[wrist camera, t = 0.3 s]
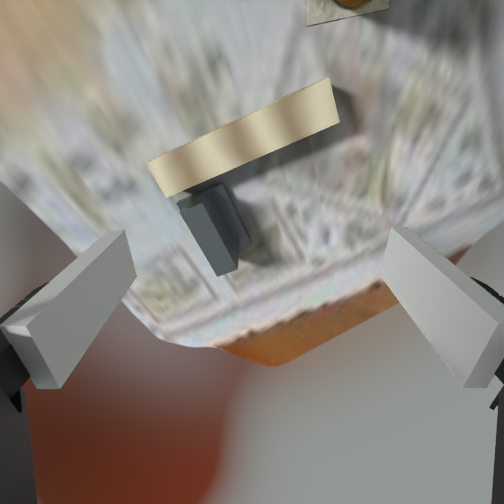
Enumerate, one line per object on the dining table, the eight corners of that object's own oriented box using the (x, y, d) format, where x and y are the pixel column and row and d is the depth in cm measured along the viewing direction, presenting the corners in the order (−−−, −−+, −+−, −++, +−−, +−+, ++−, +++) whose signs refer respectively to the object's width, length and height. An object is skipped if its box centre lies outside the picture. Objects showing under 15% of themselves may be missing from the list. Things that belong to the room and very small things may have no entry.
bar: (175, 187, 38) (166, 197, 34) (157, 156, 36) (146, 163, 32) (329, 119, 34) (339, 122, 30) (319, 79, 32) (329, 77, 28)
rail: (178, 201, 38) (165, 218, 33) (222, 181, 37) (217, 196, 31) (210, 257, 43) (204, 281, 37) (251, 241, 42) (251, 264, 36)
